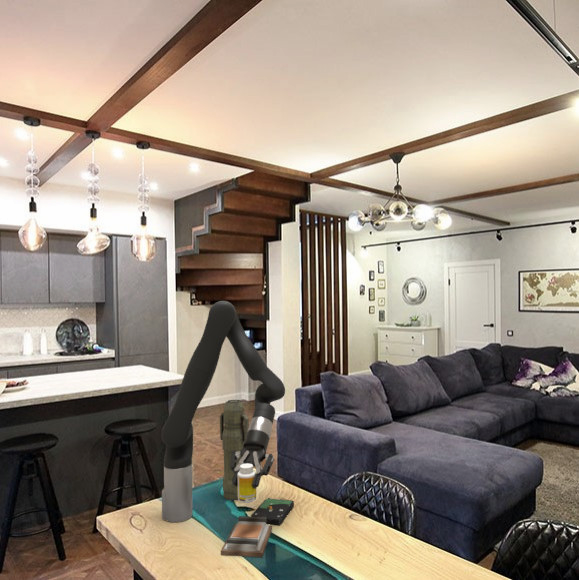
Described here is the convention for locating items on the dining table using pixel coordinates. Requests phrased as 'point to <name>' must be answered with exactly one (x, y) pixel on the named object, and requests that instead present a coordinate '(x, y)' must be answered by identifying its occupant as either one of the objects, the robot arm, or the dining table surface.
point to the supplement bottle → (246, 484)
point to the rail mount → (248, 537)
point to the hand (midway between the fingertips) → (244, 486)
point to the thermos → (232, 441)
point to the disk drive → (274, 510)
